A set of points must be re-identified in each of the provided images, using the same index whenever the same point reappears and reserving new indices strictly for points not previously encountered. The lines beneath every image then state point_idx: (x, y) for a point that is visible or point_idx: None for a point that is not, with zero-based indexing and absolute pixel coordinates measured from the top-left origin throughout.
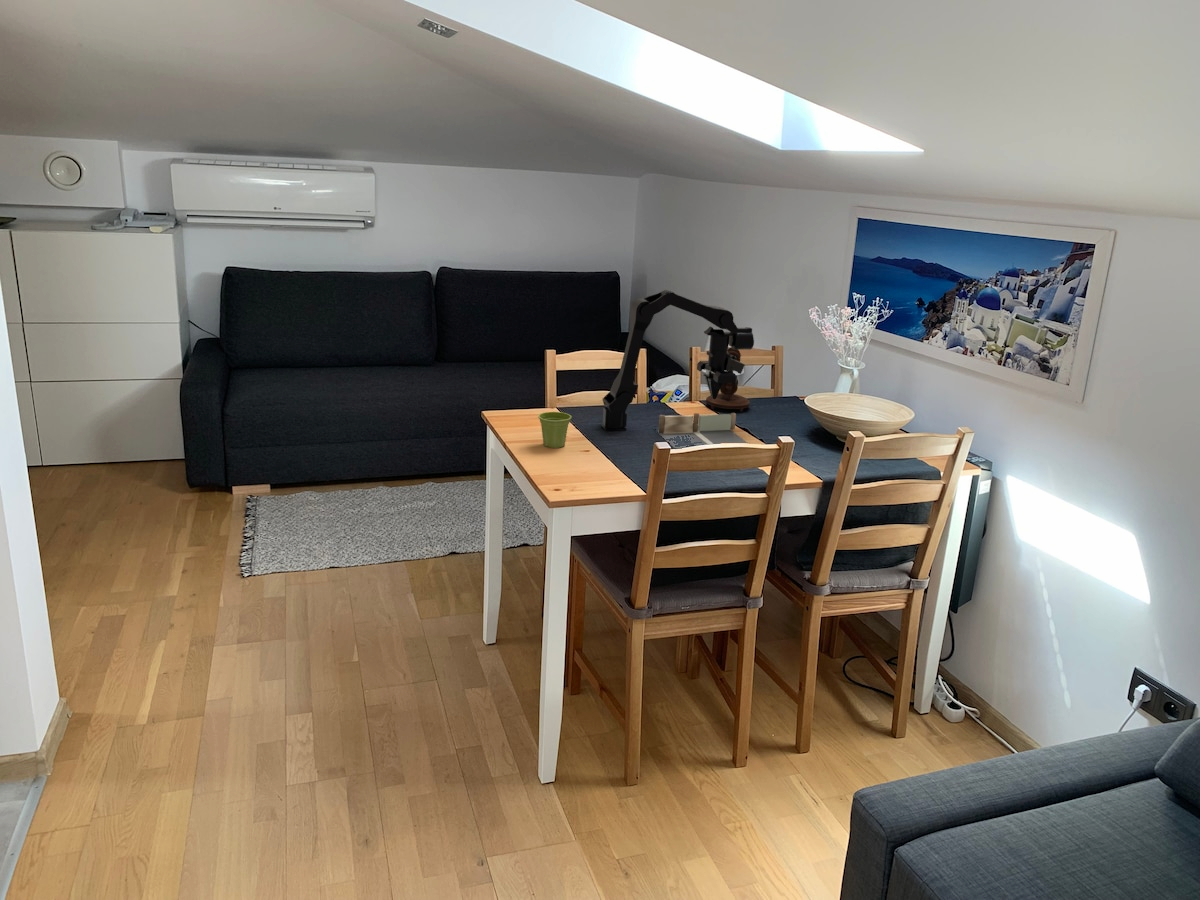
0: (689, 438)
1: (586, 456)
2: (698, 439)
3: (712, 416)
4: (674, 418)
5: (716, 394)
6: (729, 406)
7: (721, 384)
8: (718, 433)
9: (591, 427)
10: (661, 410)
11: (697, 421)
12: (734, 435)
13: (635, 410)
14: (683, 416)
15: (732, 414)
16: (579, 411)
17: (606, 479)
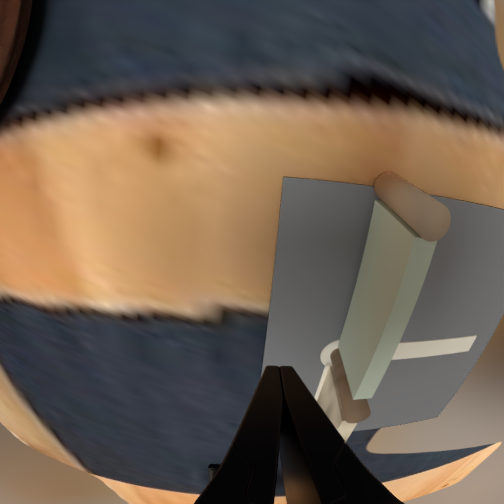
0: (398, 383)
1: None
2: (421, 364)
3: (393, 349)
4: None
5: (310, 406)
6: (11, 52)
7: (388, 499)
8: None
9: None
10: (34, 339)
11: None
12: (451, 217)
13: (59, 397)
14: (345, 441)
15: (441, 236)
16: (105, 466)
17: (458, 467)
